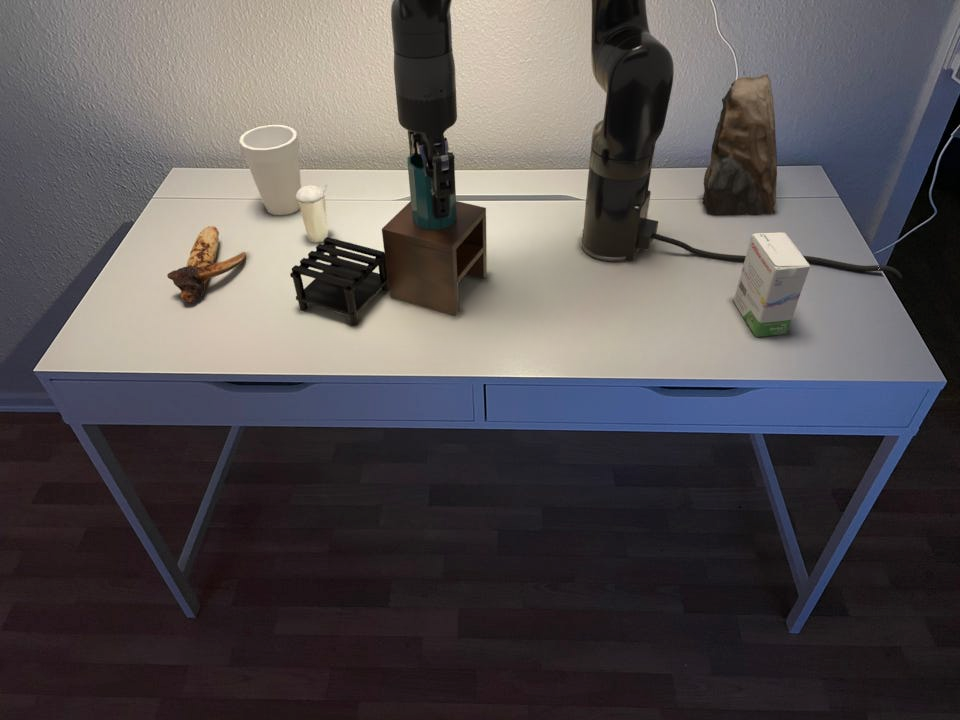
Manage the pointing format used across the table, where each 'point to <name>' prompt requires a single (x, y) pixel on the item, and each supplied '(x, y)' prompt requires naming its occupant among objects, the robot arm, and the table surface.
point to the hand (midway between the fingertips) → (433, 204)
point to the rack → (340, 278)
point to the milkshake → (313, 212)
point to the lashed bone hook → (202, 265)
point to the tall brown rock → (743, 152)
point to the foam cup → (274, 166)
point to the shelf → (434, 257)
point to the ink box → (770, 283)
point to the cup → (426, 198)
